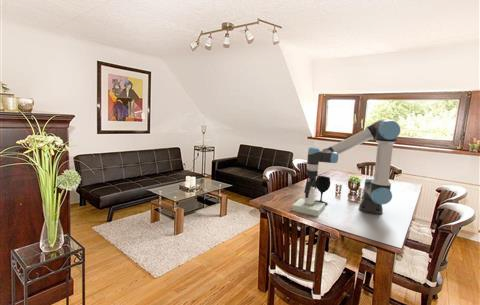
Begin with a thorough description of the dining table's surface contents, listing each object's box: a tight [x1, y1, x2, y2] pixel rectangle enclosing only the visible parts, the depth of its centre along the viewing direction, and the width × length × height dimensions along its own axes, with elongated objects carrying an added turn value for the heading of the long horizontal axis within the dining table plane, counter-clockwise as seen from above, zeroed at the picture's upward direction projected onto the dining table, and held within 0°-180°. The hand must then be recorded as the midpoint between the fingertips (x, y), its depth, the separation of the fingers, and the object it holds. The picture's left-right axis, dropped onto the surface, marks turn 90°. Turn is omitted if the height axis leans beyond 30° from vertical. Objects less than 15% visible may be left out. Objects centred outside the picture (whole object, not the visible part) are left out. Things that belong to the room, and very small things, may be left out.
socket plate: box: [291, 197, 326, 217], centre depth 182 cm, size 18×18×4 cm
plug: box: [305, 187, 316, 206], centre depth 181 cm, size 5×5×16 cm
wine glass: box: [315, 175, 331, 206], centre depth 195 cm, size 10×10×20 cm
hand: (309, 199), depth 181 cm, fingers open, 13 cm apart
